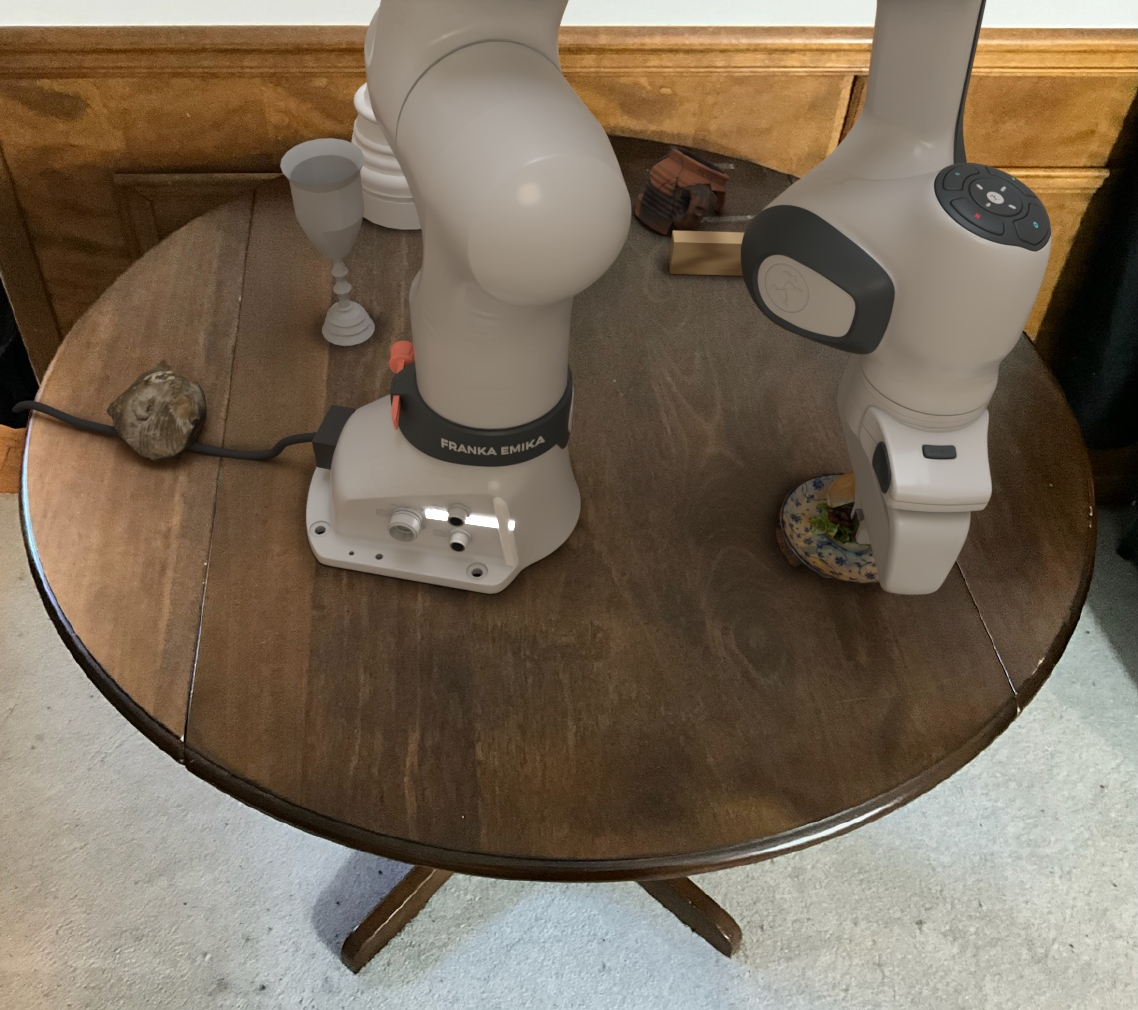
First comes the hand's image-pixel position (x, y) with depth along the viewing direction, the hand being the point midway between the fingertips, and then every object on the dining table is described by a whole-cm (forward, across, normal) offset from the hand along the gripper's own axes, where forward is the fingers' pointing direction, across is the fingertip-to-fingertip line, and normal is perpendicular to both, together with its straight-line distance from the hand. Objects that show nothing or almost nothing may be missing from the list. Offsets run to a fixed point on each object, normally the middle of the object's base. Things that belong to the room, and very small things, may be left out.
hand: (863, 530), depth 81 cm
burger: (+4, -2, 0) cm, 5 cm away
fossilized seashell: (+4, -13, -58) cm, 60 cm away
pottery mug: (+4, -48, -10) cm, 49 cm away
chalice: (+4, -27, -44) cm, 52 cm away
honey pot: (+4, -50, -40) cm, 65 cm away
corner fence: (+4, -29, -2) cm, 30 cm away
